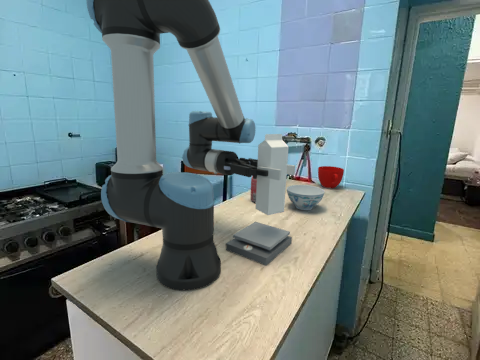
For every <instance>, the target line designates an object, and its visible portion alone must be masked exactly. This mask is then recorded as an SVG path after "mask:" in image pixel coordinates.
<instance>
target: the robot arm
mask: <svg viewBox="0 0 480 360" xmlns="http://www.w3.org/2000/svg"><path fill="white" fill-rule="evenodd" d="M86 8H87V13H88V15H89V18H90V19H91V20H93V25H94V27H95V28H96V30H97V31H98V32H100V33H101V36H102V37H101V40H102V41H103V43H104V44H105V45H106V46H107V47H108V48H109V50H110V55H111V56H110V57H111V73H112V75H111V76H112V91H113V107H114V125H115V139H116V140H115V141H116V155H117V156H116V157H117V158H116V160H117V161H116V163H114V165H113V166H111V167H110V175H108V176H107V177H106V178H105V180H104V182H105V183H104V184H102V187H101V191H100V200H101V203H102V205H103V208H104V210H105V211H106V212H107V214H108V215H110V216H111V217H113V218H114V219H118V220H120V221H123V222H125V223H134V224H139V225H142V226H143V225H145V226H148V227H154V228H159V229H161V230H162V246H161V251H160V255H159V259H158V260H157V263H156V265H155V266H156V268H155V269H156V271H155V272H156V279H157V281H158V282H159V283H160V284H161V285H162V286H163V287H166V288H167V289H171V290H175V291H194V290H198V289H202V288H205V287H207V286H209V285H211V284H212V283H214V282H216V280H217V279H218V278H219V277H220V275H221V271H222V262H221V261H222V260H221V257H220V255H219V254H218V249H217V246H216V244H215V240H214V237H215V236H214V232H215V230H214V229H215V217H214V216H215V209H214V208H215V201H216V200H215V195H214V186H213V184H212V182H211V181H210V180H209V179H208V178H206V177H205V176H203V175H201V174H196V173H193V172H192V173H191V172H186V171H185V172H180V171H173V172H172V171H171V172H167V173H164V166H162V165H161V164H160V163H159V162H158V160H157V146H156V145H157V144H156V143H157V142H156V141H157V140H156V135H157V134H156V108H155V106H156V105H155V103H156V102H155V70H154V66H155V65H154V55H155V54H156V53H157V51H158V50H159V49H160V48H161V34H168V33H170V34H172V35H173V36H174V37H175V39H176V41H177V42H178V45H179V47H180V48H181V49H184V50H186V51H187V54H188V56H189V58H190V60H191V62H192V64H193V68H194V69H195V72H196V74H197V76H198V79H199V81H200V82H201V85H202V87H203V88H204V89H203V90H204V91H205V94H206V96H207V98H208V100H209V102H210V105H211V107H212V109H213V111H214V113H215V115H216V116H213V113H212V111H201V110H200V111H199V110H197V111H196V110H192V111H191V112H189V114H188V115H189V116H188V118H189V119H188V135H189V137H188V141H189V142H188V143H189V144H188V146H187V147H186V148H185V149H184V150H183V154H182V158H181V159H182V162H183V164H184V165H185V166H186V167H188V168H191V169H194V170H196V171H197V170H199V171H204V172H210V173H213V174H214V175H217V174H221V175H225V176H232V175H238V176H242V177H245V178H246V177H247V178H252V176H253V179H257V175H258V177H263V178H269V179H274V180H281V170H280V169H273V168H267V167H258V169H257V165H258V158H256V159H255V158H251V157H248V158H245V157H239V156H238V154H237V153H236V152H235V151H230V150H223V149H217V148H216V149H215V148H212V146H213V142H222V143H232V144H233V143H235V144H251V143H252V142H253V141H254V138H255V135H256V123H255V121H254V120H253V119H251V118H249V117H246V118H245V116H244V113H243V110H242V108H241V105H240V101H239V98H238V94H237V92H236V89H235V86H234V83H233V80H232V76H231V74H230V70H229V68H228V64H227V60H226V58H225V55H224V52H223V48H222V44H221V42H220V39H219V35H220V33H221V27H220V24H219V21H218V18H217V15H216V12H215V9H214V8H213V6H212V3H211V2H210V1H209V0H86ZM295 170H296V165H293V164H289V163H287V175H290V176H295V175H296V174H295V173H296V171H295Z"/></svg>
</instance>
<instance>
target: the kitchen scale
mask: <svg viewBox="0 0 480 360" xmlns="http://www.w3.org/2000/svg"><path fill="white" fill-rule="evenodd" d="M290 235H291V231H289V230H287V229H286V230H285V229H283V228H280V227H275V226H272V225H269V224H266V223H263V222H259V221H254V222H252V223H251V224H249V225H247V226H245V227H243V228H242V229H241V230H238V231H237V232H235V233H233V234H232V239H230V240H229V241H227V242H225V250H226V251H227V252H228V251H229V252H230V253H231V252H232V253H233V254H236V255H238V256H241V257H243V258H246V259H249V260H252V261H255V262H257V263H259V264H262V265H265V266H268V264H270V263H271V262H272V261H273V260H274V259H275V258H276V257H277V256H279V255H280V254H281V253H283V251H284V250H285V249H287V248H288V247H289V246H291V244H292V241H293V237H292V236H290Z"/></svg>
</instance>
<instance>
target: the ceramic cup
mask: <svg viewBox="0 0 480 360" xmlns="http://www.w3.org/2000/svg"><path fill="white" fill-rule="evenodd" d="M344 172H345V169H344V168H342V167H337V166H331V165H327V166H326V165H324V166H322V165H321V166H319V167H318V168H317V176H318V177H317V178H318V181H319V183H320V185H322V187H323V188H326V189H335V188H337V186H339V185H340V184H341V183H342V180H343V178H344Z"/></svg>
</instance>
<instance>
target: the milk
mask: <svg viewBox="0 0 480 360" xmlns="http://www.w3.org/2000/svg"><path fill="white" fill-rule="evenodd" d="M257 147H258V148H257V160H258V165H257V169H258V167H267V168H273V169H280V170H281V180H274V179H269V178H263V177H258V175H257V188H256V202H255V210H257V211H259V212H261V213H262V214H265V215H267V216H271V215H276V214H280V213H284V212H285V203H286V201H285V200H286V191H287V175H288V174H287V164H288V161H289V145H288V144H287V143H286V142H285V141H284V140H283V134H282V133H266V134H264V139H263V141H262V142H261V143H259V144H258V146H257Z"/></svg>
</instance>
